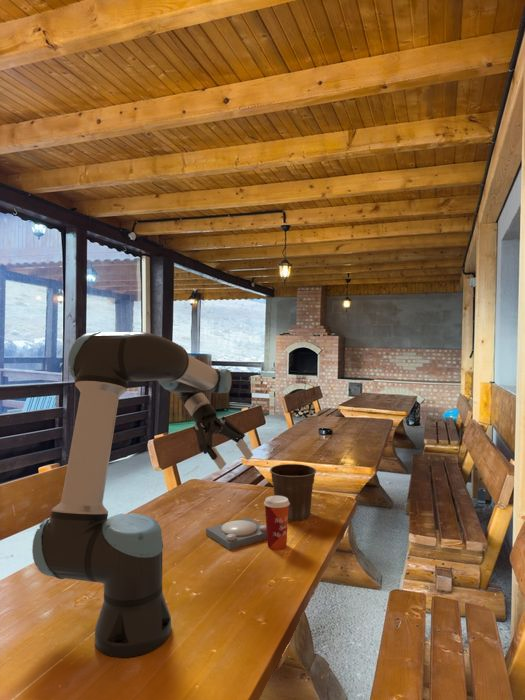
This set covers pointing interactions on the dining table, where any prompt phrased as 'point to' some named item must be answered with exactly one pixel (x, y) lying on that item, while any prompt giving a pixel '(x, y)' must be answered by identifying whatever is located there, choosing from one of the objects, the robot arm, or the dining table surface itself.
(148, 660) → the dining table surface
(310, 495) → the plant pot
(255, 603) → the dining table surface
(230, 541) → the grey flat block
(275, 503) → the paper cup
